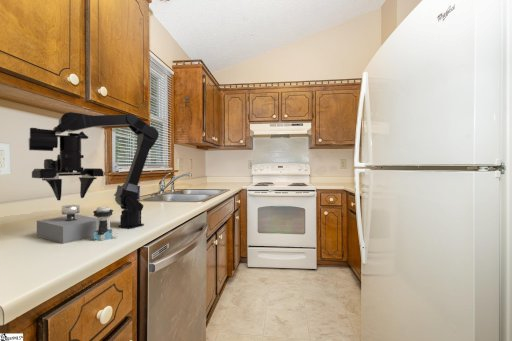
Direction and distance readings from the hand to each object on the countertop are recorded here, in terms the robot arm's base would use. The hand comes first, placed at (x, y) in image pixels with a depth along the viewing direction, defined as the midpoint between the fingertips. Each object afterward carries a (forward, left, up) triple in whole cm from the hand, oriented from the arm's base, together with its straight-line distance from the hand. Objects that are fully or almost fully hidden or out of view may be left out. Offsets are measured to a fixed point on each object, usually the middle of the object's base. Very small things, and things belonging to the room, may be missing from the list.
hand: (70, 199), depth 83 cm
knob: (0, 0, -10) cm, 10 cm away
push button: (-3, +14, -12) cm, 19 cm away
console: (0, 0, -12) cm, 12 cm away
